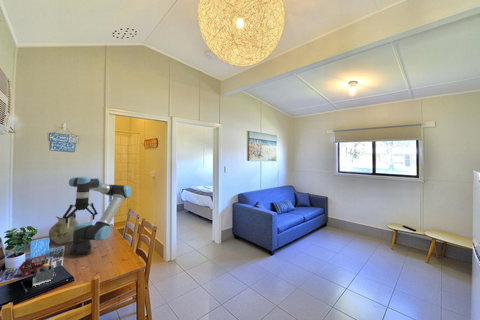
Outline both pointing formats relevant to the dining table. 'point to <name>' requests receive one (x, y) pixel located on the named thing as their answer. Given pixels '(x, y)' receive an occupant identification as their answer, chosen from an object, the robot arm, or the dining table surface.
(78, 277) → the dining table surface
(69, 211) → the robot arm
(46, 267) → the keeper
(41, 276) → the link
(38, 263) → the toy fire truck
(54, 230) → the pitcher
